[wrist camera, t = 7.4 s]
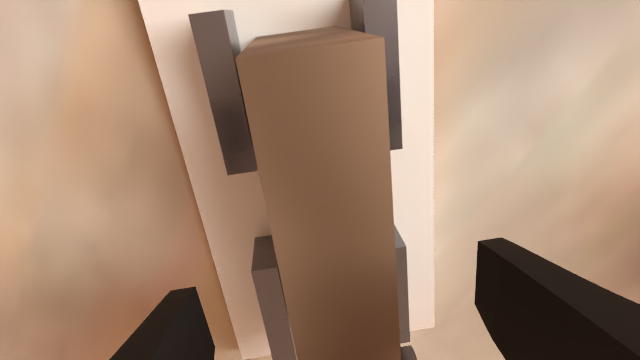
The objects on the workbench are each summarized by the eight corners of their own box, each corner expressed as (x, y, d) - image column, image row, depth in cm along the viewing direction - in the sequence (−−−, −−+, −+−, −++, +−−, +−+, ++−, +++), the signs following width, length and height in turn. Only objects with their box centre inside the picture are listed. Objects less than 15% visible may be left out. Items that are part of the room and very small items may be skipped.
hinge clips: (377, -10, 13) (396, -14, 11) (395, 303, 19) (410, 341, 17) (203, 14, 13) (188, 14, 11) (274, 324, 19) (273, 365, 17)
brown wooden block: (357, 23, 14) (425, 31, 7) (378, 289, 18) (430, 435, 12) (256, 36, 13) (234, 58, 7) (304, 301, 18) (317, 455, 12)
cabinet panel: (420, -78, 14) (433, -86, 12) (426, 310, 21) (434, 327, 20) (137, -41, 13) (124, -46, 12) (244, 341, 21) (242, 360, 19)
